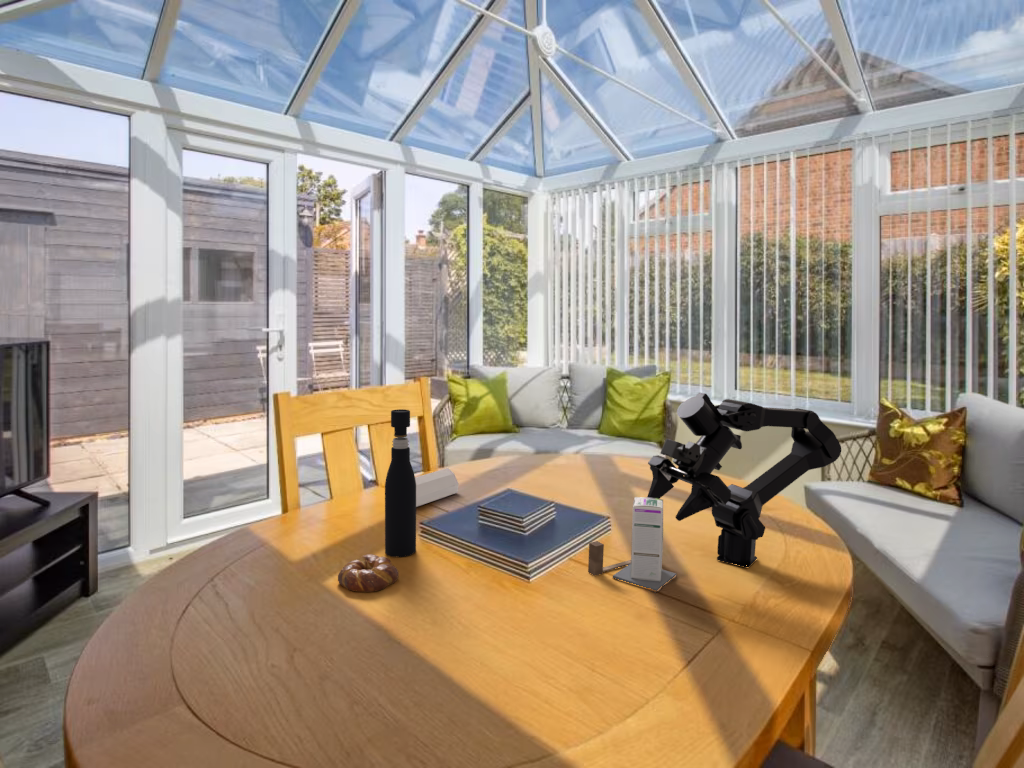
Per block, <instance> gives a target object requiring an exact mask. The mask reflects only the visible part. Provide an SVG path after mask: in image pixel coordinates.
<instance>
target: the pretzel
mask: <svg viewBox="0 0 1024 768" xmlns="http://www.w3.org/2000/svg"><path fill="white" fill-rule="evenodd" d="M398 579H399V570H398V569H397V567H396V566H394V565H393V563H392V562H391V560H390V559H389V558H388V557H386V556H383V555H382V556H379V555H376V554H372V553H371V554H370V553H366V554H363V555H362V556H359V557H358V558H357V559H354V560H350V561H349V562H347V563H346V564H345V565H344V566H343V567H342V569H340V570H339V573H338V575H337V581H338V583H339V584H340V586H342V587H343V588H347V590H348V591H352V592H359V593H361V592H363V593H364V592H365V593H372V592H379V591H382V590H384V589H385V588H386V587H388V586H389V585H392V584H395V583H396V581H397V580H398Z"/></svg>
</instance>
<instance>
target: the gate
mask: <svg viewBox="0 0 1024 768" xmlns="http://www.w3.org/2000/svg"><path fill="white" fill-rule="evenodd" d="M604 548H605V545H604V543H602V542H599V541H598V540H595V541H592V542H591V541H590V542H588V567H587V569H588V570H587V572H589V574H590V573H591V574H590V575H592V574H593V575H592V576H594V577H596V576H595V575H597V576H599V574H601V575H603V574H602V573H603V572H604V573H606V572H605V571H607V572H610V571H609V570H611V571H613V570H612V569H614V570H616V569H615V568H618V567H621V568H623V567H622V566H625V565H629V564H631V559H628V560H625V561H622V562H621V561H620V562H617V563H615V564H610V565H606V566H604V550H605V549H604ZM625 567H626V566H625ZM618 569H619V568H618Z"/></svg>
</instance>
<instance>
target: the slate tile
mask: <svg viewBox="0 0 1024 768" xmlns="http://www.w3.org/2000/svg"><path fill="white" fill-rule="evenodd" d="M675 575H676V576H677V573H676V572H672V571H670V570H666V569H663V568H662V572H661V581H660V582H659V581H649V580H641V579H635V578H631V564H629V565H628V566H625V567H622V568H621V569H620V570H619V571H618V572H616V573H615V574H613V575H612V579H613V578H616V579H619V580H623V581H626V582H629V583H633V584H636V585H639V586H643V587H646V588H651V589H653V590H656V591H657V590H658V589H659V588H660V587H661V586H663V585H664V584H665V583H666V582H668V581H669V580H670V579H672V578H673V577H674V576H675ZM616 579H615V580H616ZM619 580H618V581H619Z"/></svg>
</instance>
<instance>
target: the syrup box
mask: <svg viewBox="0 0 1024 768" xmlns="http://www.w3.org/2000/svg"><path fill="white" fill-rule="evenodd" d="M631 521H632V523H631V524H632V526H631V527H632V528H631V550H630V551H631V558H630V560H631V578H635V579H641V580H649V581H659V582H660V581H661V572H662V569H663V566H662V565H663V548H664V547H663V546H664V499H662V498H660V499H657V498H649V497H647V496H645V497H640V496H639V497H638V496H634V499H633V503H632V520H631Z"/></svg>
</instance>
